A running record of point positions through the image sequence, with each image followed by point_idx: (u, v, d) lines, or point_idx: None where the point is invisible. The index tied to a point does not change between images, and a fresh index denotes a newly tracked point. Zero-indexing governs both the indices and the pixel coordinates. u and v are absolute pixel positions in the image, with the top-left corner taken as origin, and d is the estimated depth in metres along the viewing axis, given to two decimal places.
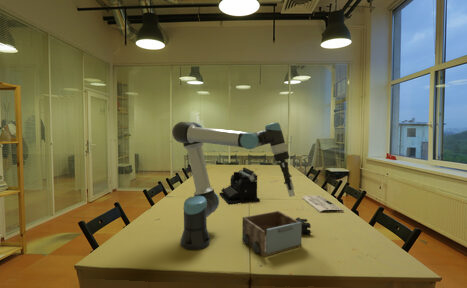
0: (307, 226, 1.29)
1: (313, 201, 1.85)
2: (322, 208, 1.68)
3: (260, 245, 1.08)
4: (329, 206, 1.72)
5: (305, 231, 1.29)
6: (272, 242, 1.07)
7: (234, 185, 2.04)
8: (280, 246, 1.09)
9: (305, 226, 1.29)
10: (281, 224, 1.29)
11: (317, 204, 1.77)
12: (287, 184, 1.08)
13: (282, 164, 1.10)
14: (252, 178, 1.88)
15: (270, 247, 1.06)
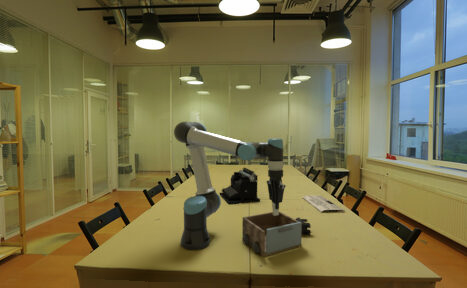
0: (307, 226, 1.29)
1: (314, 201, 1.85)
2: (323, 208, 1.68)
3: (260, 245, 1.08)
4: (330, 206, 1.72)
5: (305, 231, 1.29)
6: (272, 242, 1.07)
7: (234, 185, 2.04)
8: (280, 246, 1.09)
9: (305, 226, 1.29)
10: (281, 224, 1.29)
11: (318, 204, 1.77)
12: (276, 204, 1.14)
13: (282, 187, 1.10)
14: (252, 178, 1.88)
15: (270, 247, 1.06)
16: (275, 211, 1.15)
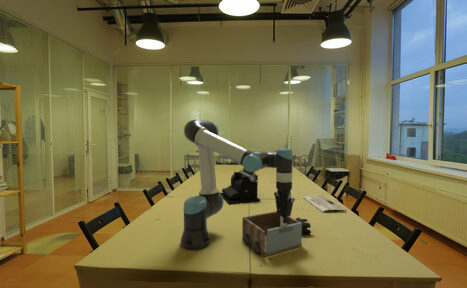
0: (307, 226, 1.29)
1: (315, 201, 1.85)
2: (324, 208, 1.68)
3: (260, 245, 1.08)
4: (331, 206, 1.72)
5: (305, 231, 1.29)
6: (272, 242, 1.06)
7: (234, 185, 2.04)
8: (280, 247, 1.09)
9: (305, 226, 1.29)
10: None
11: (319, 204, 1.77)
12: (285, 217, 1.09)
13: (291, 200, 1.04)
14: (252, 178, 1.88)
15: (270, 247, 1.06)
16: (283, 225, 1.10)
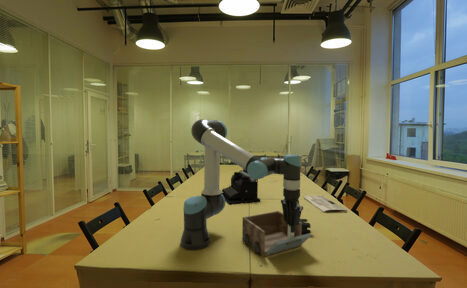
0: (307, 226, 1.29)
1: (316, 201, 1.85)
2: (325, 208, 1.68)
3: (260, 245, 1.08)
4: (332, 206, 1.72)
5: (305, 231, 1.29)
6: (276, 249, 1.04)
7: (234, 185, 2.03)
8: (281, 249, 1.08)
9: (305, 226, 1.29)
10: (281, 224, 1.29)
11: (320, 204, 1.77)
12: (292, 227, 1.04)
13: (300, 209, 1.00)
14: None
15: (272, 251, 1.05)
16: (290, 234, 1.05)
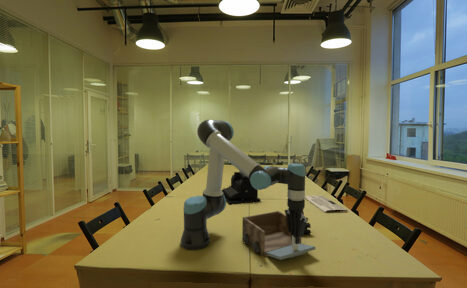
0: (307, 226, 1.29)
1: (316, 201, 1.85)
2: (326, 208, 1.68)
3: (260, 245, 1.08)
4: (333, 206, 1.72)
5: (305, 231, 1.29)
6: None
7: (235, 185, 2.03)
8: None
9: (305, 226, 1.29)
10: (281, 224, 1.29)
11: (321, 204, 1.77)
12: (297, 238, 1.01)
13: (305, 220, 0.97)
14: None
15: None
16: (295, 245, 1.03)
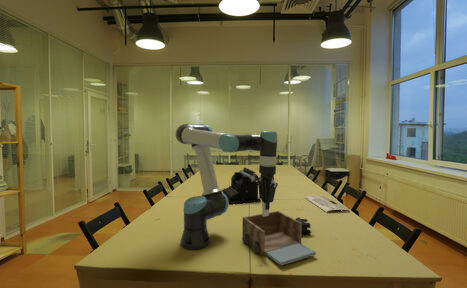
0: (307, 226, 1.29)
1: (318, 201, 1.85)
2: (328, 208, 1.68)
3: (260, 245, 1.08)
4: (334, 206, 1.72)
5: (305, 231, 1.29)
6: None
7: (235, 185, 2.03)
8: None
9: (305, 226, 1.29)
10: (281, 224, 1.29)
11: (322, 204, 1.77)
12: (267, 203, 1.03)
13: (274, 185, 0.99)
14: (253, 178, 1.87)
15: None
16: (265, 211, 1.04)
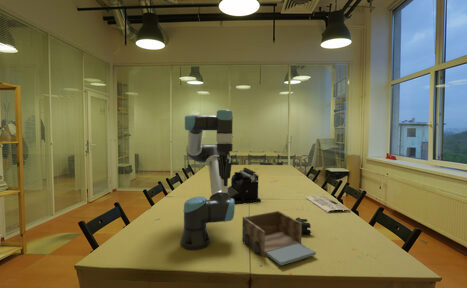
0: (307, 226, 1.29)
1: (318, 201, 1.85)
2: (329, 208, 1.68)
3: (260, 245, 1.08)
4: (335, 206, 1.72)
5: (305, 231, 1.29)
6: None
7: (235, 185, 2.03)
8: None
9: (305, 226, 1.29)
10: (281, 224, 1.29)
11: (323, 204, 1.77)
12: (225, 180, 1.07)
13: (229, 161, 1.03)
14: (253, 178, 1.87)
15: None
16: (223, 188, 1.08)
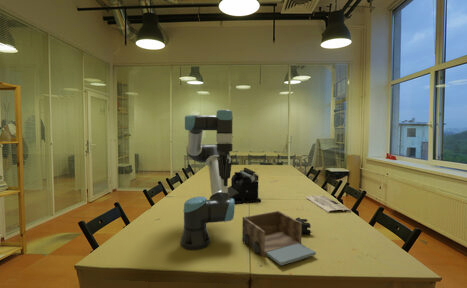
0: (307, 226, 1.29)
1: (319, 201, 1.84)
2: (330, 208, 1.68)
3: (260, 245, 1.08)
4: (336, 206, 1.72)
5: (305, 231, 1.29)
6: None
7: (235, 185, 2.03)
8: None
9: (305, 226, 1.29)
10: (281, 224, 1.29)
11: (324, 204, 1.77)
12: (225, 180, 1.07)
13: (229, 161, 1.03)
14: (253, 178, 1.87)
15: None
16: (223, 188, 1.08)
